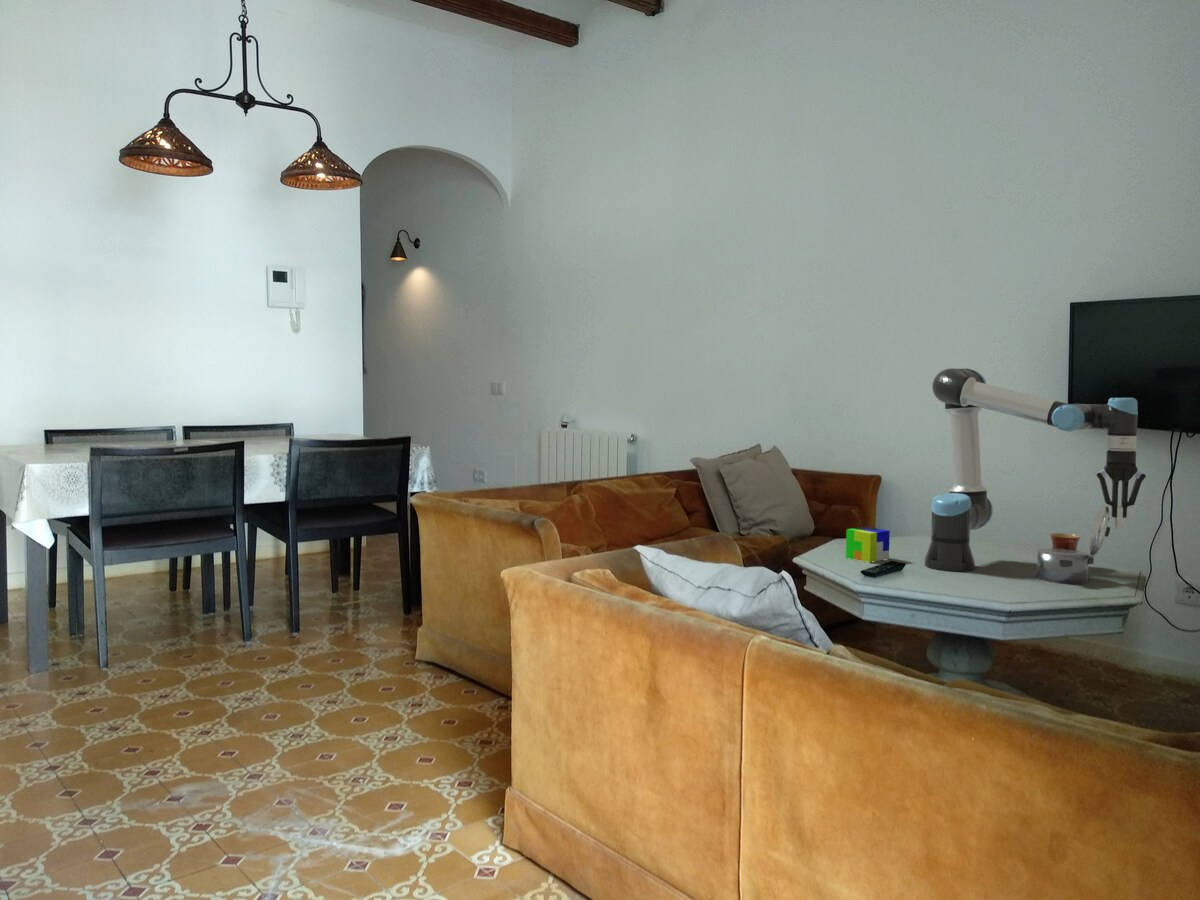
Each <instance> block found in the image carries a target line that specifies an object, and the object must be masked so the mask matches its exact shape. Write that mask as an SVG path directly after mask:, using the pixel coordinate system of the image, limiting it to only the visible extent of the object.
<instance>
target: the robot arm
mask: <svg viewBox="0 0 1200 900" xmlns="http://www.w3.org/2000/svg"><path fill="white" fill-rule="evenodd" d="M932 393H933V394H934V396H935V398H936V399H938V400H939V401H940V402H942V403H944V409H945V411H946V412H947V413H948V414H949V416H950V417H949V418H950V434H951V453H952V454H951V455H952V471H953V473H952V475H953V486H952V487H951V488H950V489H949V491H948V492H949V493H948V492H947V493H941V494H938V495H936V496H934V497H933V498H932V502H931V503H932V504H931V529H930V530H931V536H930V543H929V547H928V550H927V551H926V554H925V557H924V566H926V567H927V568H931V569H935V570H940V571H941V570H942V571H951V572H967V571H972V570H974V569H975V563H976V562H975V558H974V556H973V555H974V554H973V552H972V549H971V546H970V545H971V544H970V542H971V541H970V539H971V538H970V537H971V536H970V535H971V531H974V530H975V531H976V530H979V529H981V528H983V527H984V526H985V525H987V524H988V523H989V522H990V521H991V519H992V517H993V513H994V507H993V503H992V501H991V500H990V499H989V498H988V493H987V492H988V490H987V488H986V487H985V486H983V484H982V471H981V469H982V468H981V452H980V451H981V450H980V449H981V448H980V433H979V432H980V430H979V426H980V425H979V412H980V411H981V410H982V409H985V410H989V411H993V412H998V413H1001V414H1005V415H1008V416H1013V417H1016V418H1021V419H1024V420H1029V421H1032V422H1036V423H1041V424H1044V425H1048V426H1050V427H1055V428H1056V429H1058V430H1060V431H1064V432H1073V431H1078V430H1107V431H1106V432H1107V433H1106V436H1107V437H1106V448H1107V450H1106V460H1105V461H1106V462H1105V466H1104V468H1103V469H1102V470H1100V471H1097V472H1095V475H1096V477H1097V479H1098V480H1099V484H1100V486H1101V487H1100V488H1101V492H1102V495H1103V499H1104V503H1105V504H1106V505H1107V506H1108V505H1109V506H1111V517H1112V518H1115V519H1114V520H1115V521H1114V523H1115V525H1114V528H1115V529H1116V530H1123V519H1126V518H1127V516H1128V514H1127V513H1128V507H1130V506H1134V505H1136V504H1135V503H1136V501H1137V497H1138V493H1139V491H1140V488H1141V486H1142V485H1141V484H1142V482H1143V481H1144V480H1145V479H1146V476H1147V475H1146V474H1145V473H1143V472H1141V471H1139V470H1138V467H1137V463H1136V462H1137V451H1136V450H1135V449H1137V438H1138V437H1137V436H1138V435H1137V434H1138V433H1137V432H1138V415H1139V412H1138V400H1137V399H1136V398H1134V397H1110V398H1109V399H1108V400H1107V401H1108V402H1107V403H1106V404H1095V403H1093V404H1090V403H1088V404H1086V403H1073V404H1072V403H1071V404H1070V403H1067V402H1064V401H1063V402H1062V401H1058V400H1055V399H1049V398H1046V397H1041V396H1038V395H1034V394H1030V393H1029V394H1028V393H1025V392H1022V391H1021V392H1020V391H1016V390H1013V389H1008V388H1004V387H1002V386H1001V387H1000V386H996V385H992V384H988V383H987V380H986V378H985V377H984V376H983V374H982V373H980V372H978V371H977V370H975V369H971V368H963V367H962V368H952V367H951V368H946V369H942V370H941V371H939V372H938V373H937V374H936V375H935V377H934V379H933V381H932ZM1134 475H1135V477H1134ZM1107 476H1108V477H1109V478H1110V479H1111V483H1112V485H1111V486H1112V487H1111V497H1110V493H1109V490H1108V486H1107V481H1106V479H1105V478H1106V477H1107ZM1133 477H1134V478H1135V480H1134V482H1133V486H1132V490H1131V493H1130V494H1129V484H1130V482H1129V481H1130V480H1132V478H1133ZM1120 481H1121V499H1120V500H1121V502H1120V505H1121V506H1118V505H1119V500H1118V499H1119V482H1120ZM1128 498H1129V499H1128Z"/></svg>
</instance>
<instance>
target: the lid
mask: <svg viewBox="0 0 1200 900" xmlns="http://www.w3.org/2000/svg"><path fill="white" fill-rule="evenodd" d="M1109 509H1110V508H1109V506H1108V505H1104V504H1103V505H1101V506H1100V508H1099V509H1098V511H1097V514H1096V517H1095V520H1094V523H1093V525H1092V526H1093V527H1092V530H1091V535H1090V540H1089V541H1090V543H1089V551H1090V552H1089V555H1090V556H1093V557H1095V555H1097V554H1098V553H1099V551H1100V550H1101V547H1102V544H1103V542H1104V539H1105V537H1109V534H1110V533H1111V527H1110V526H1108V523H1109V522H1110V516H1109V515H1110V514H1109V513H1110V510H1109Z"/></svg>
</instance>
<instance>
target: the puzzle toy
mask: <svg viewBox="0 0 1200 900" xmlns="http://www.w3.org/2000/svg"><path fill="white" fill-rule="evenodd" d="M890 532H891V530H888V529H881V528H876V527H869V526H862V527H861V526H860V527H854V528H847V529H846V531H845V533H846V534H845V537H846V539H845V541H846V542H845V559H848V558H851V559H850V560H853V559H857V560H862V561H868V562H872V561H878V560H884V559H889V560H890ZM857 560H856V561H857ZM862 561H861V562H862ZM884 561H885V560H884Z"/></svg>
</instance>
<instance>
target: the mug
mask: <svg viewBox="0 0 1200 900" xmlns="http://www.w3.org/2000/svg"><path fill="white" fill-rule="evenodd" d="M1049 537H1050V539H1051V549H1067V550H1075V551H1078V545H1079V541H1080V539H1081V536H1080V535H1078V534H1075V533H1066V532H1064V533H1063V532H1053V533H1050V534H1049Z"/></svg>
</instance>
